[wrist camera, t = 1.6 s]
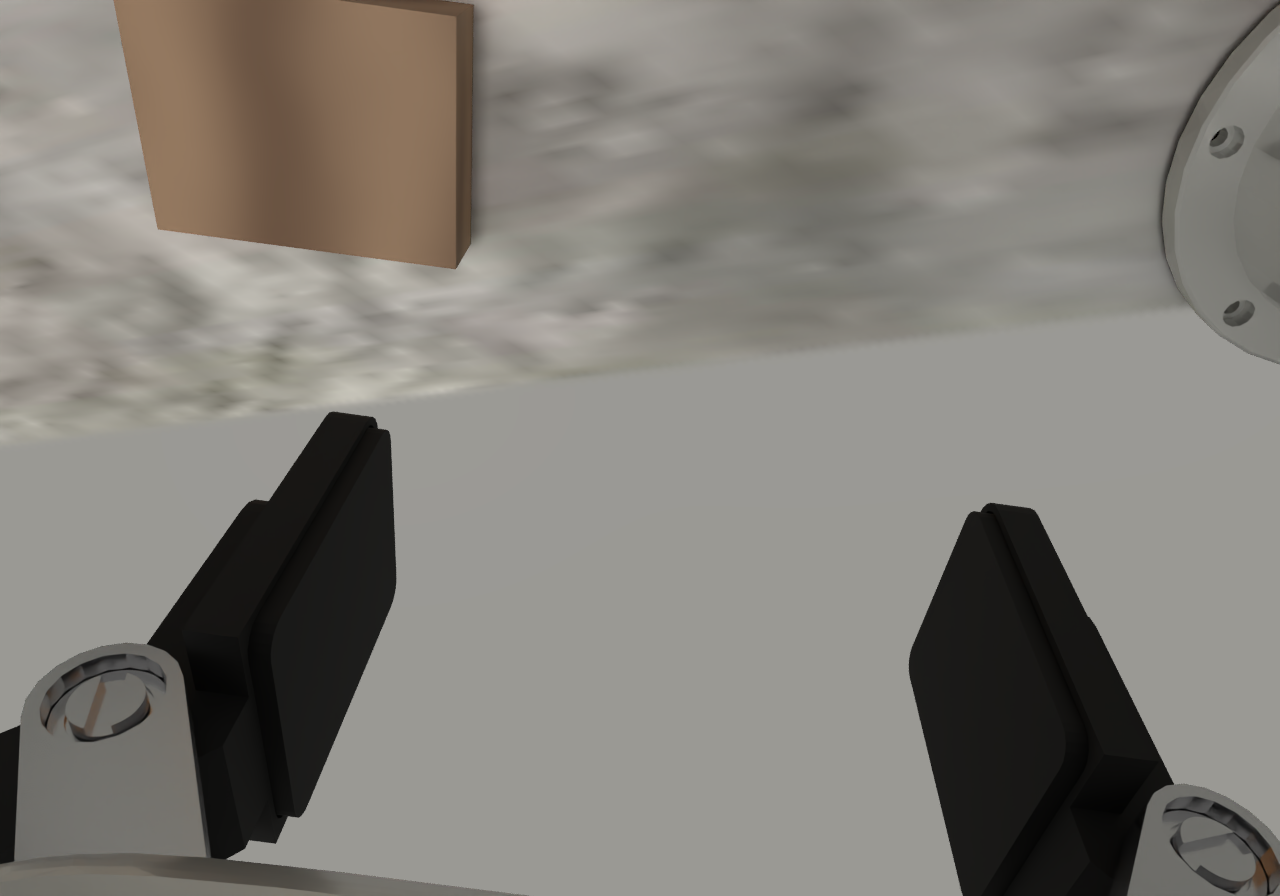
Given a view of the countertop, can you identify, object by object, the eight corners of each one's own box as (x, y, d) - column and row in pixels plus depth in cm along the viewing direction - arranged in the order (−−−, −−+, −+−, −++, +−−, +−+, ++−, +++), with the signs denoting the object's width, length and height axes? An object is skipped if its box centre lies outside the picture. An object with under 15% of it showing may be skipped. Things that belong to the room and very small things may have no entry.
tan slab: (476, 2, 25) (456, 16, 23) (473, 238, 29) (456, 269, 27) (156, -42, 25) (107, -32, 23) (196, 201, 29) (157, 229, 27)
